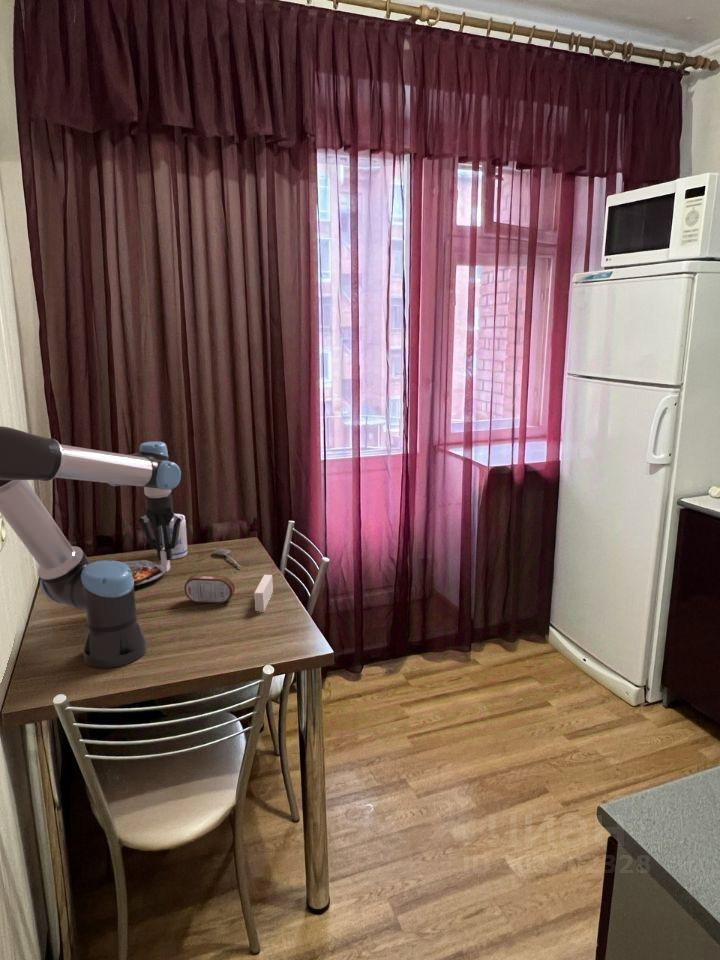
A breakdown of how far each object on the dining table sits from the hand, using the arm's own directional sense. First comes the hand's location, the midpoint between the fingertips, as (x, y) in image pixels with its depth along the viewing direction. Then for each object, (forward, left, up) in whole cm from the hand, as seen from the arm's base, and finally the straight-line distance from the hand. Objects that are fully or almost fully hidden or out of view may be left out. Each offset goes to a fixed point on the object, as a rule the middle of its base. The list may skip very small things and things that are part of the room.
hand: (166, 569), depth 191 cm
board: (0, -30, -10) cm, 31 cm away
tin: (0, -13, -10) cm, 16 cm away
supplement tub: (+40, +12, -10) cm, 43 cm away
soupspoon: (+35, -9, -11) cm, 38 cm away
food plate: (+18, +20, -11) cm, 29 cm away
